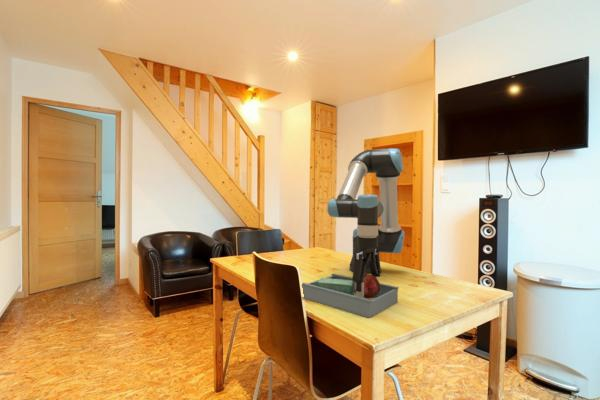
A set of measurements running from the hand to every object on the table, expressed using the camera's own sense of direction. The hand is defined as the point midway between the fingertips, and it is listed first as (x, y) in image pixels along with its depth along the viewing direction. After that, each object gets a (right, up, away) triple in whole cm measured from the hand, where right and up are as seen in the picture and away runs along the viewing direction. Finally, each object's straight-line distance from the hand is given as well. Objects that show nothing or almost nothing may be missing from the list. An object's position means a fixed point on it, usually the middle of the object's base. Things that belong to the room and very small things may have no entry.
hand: (367, 296), depth 116 cm
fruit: (0, 0, 0) cm, 0 cm away
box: (-11, -3, +6) cm, 13 cm away
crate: (-6, -3, +5) cm, 9 cm away
